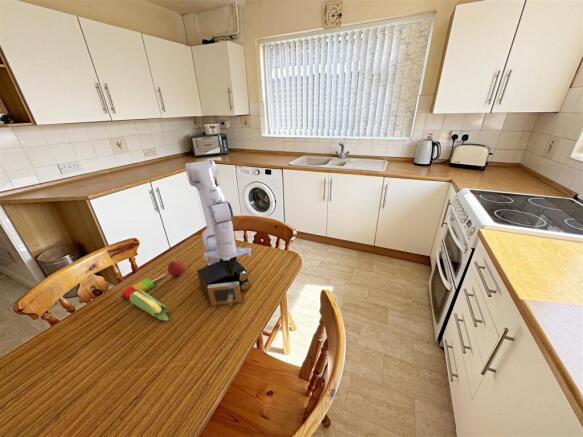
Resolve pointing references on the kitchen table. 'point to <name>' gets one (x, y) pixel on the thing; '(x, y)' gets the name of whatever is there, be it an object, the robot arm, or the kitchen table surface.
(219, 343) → the kitchen table surface
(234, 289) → the door
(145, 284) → the popsicle
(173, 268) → the onion
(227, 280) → the microwave
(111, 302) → the kitchen table surface
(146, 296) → the edible corn
